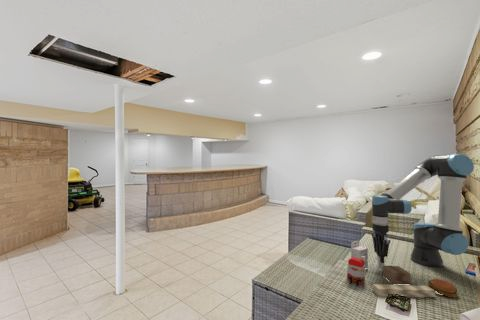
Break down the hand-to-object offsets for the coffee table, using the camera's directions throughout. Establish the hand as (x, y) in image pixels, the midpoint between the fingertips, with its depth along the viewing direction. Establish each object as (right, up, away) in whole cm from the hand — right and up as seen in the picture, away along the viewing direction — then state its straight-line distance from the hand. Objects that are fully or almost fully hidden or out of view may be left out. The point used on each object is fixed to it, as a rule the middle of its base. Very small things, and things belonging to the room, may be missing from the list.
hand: (380, 268), depth 120 cm
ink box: (-11, -2, +1) cm, 11 cm away
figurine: (-20, 0, -13) cm, 24 cm away
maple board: (-5, 0, -24) cm, 24 cm away
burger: (+14, -1, -21) cm, 25 cm away
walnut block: (0, -1, -12) cm, 12 cm away
